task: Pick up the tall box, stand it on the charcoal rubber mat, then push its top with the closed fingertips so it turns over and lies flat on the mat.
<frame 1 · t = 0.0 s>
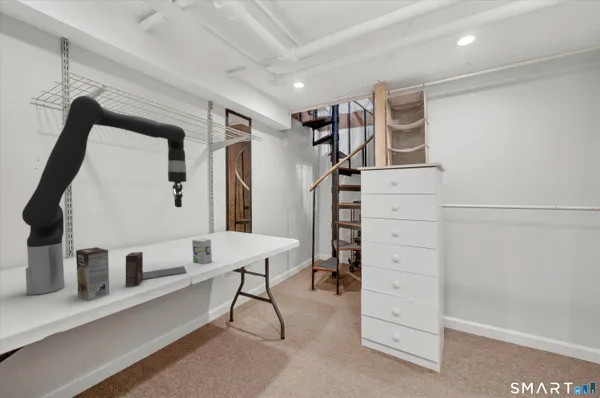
hand: (178, 206, 116), 29 cm above the table, fingers open, 8 cm apart
mat: (164, 273, 112), on the table
box: (135, 284, 100), on the table
coffee box: (93, 295, 89), on the table
ink box: (202, 262, 129), on the table
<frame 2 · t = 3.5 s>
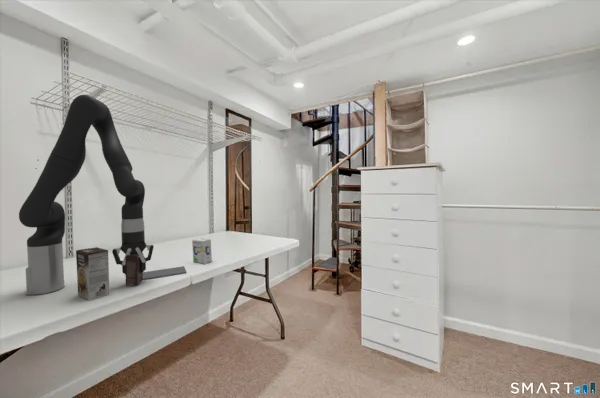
hand: (134, 272, 100), 4 cm above the table, fingers closed on box, 5 cm apart
box: (135, 284, 100), on the table, touching gripper
everything else where it was.
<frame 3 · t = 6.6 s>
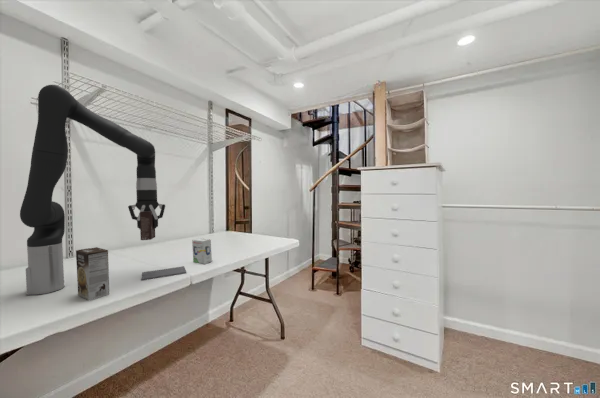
hand: (148, 228, 108), 21 cm above the table, fingers closed on box, 5 cm apart
box: (148, 239, 109), point 16 cm above the table, touching gripper
everything else where it was.
when the fingers open (6 cm above the table, at t = 9.5 s): box stays where it is, resting on mat.
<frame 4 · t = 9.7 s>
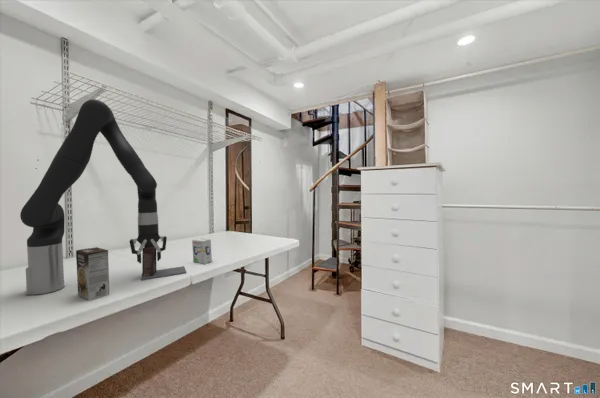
hand: (149, 261, 109), 6 cm above the table, fingers open, 6 cm apart
box: (150, 274, 109), resting on mat
everything else where it was.
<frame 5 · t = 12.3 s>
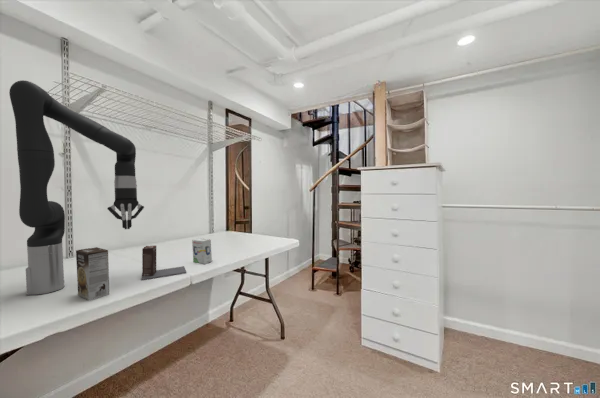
hand: (127, 228, 105), 21 cm above the table, fingers closed
nothing on the table moved.
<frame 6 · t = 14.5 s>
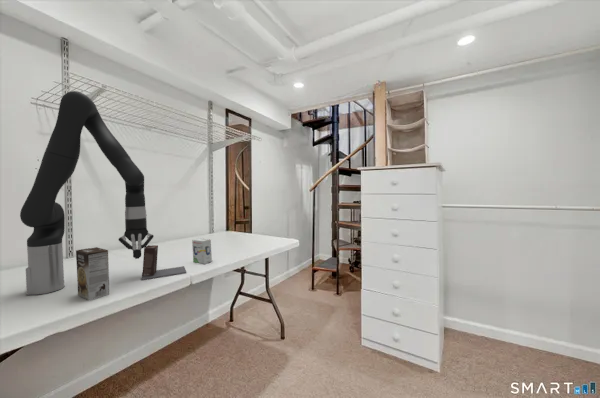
hand: (137, 258, 107), 8 cm above the table, fingers closed
box: (150, 274, 109), resting on mat, touching gripper, hand
everything else where it was.
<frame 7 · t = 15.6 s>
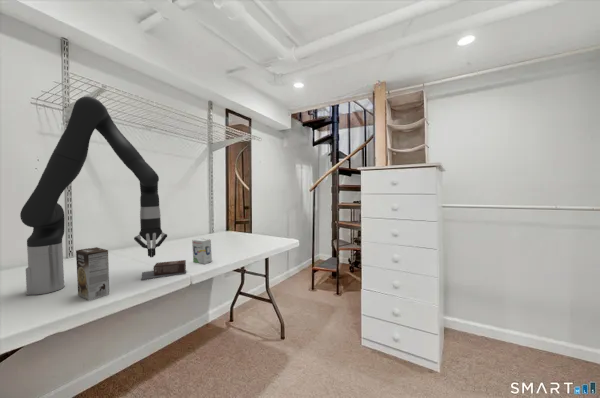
hand: (151, 256, 109), 8 cm above the table, fingers closed
box: (154, 269, 110), point 3 cm above the table, touching mat
everything else where it was.
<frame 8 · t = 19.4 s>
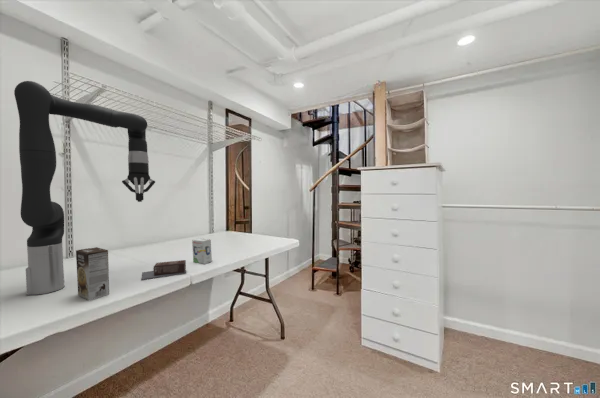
hand: (139, 201, 112), 32 cm above the table, fingers closed
nothing on the table moved.
at the end: box tilted 88°; box inside the target area on the mat (4.5 cm from its centre), point 2.5 cm above the mat's base; the gripper is holding nothing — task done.
